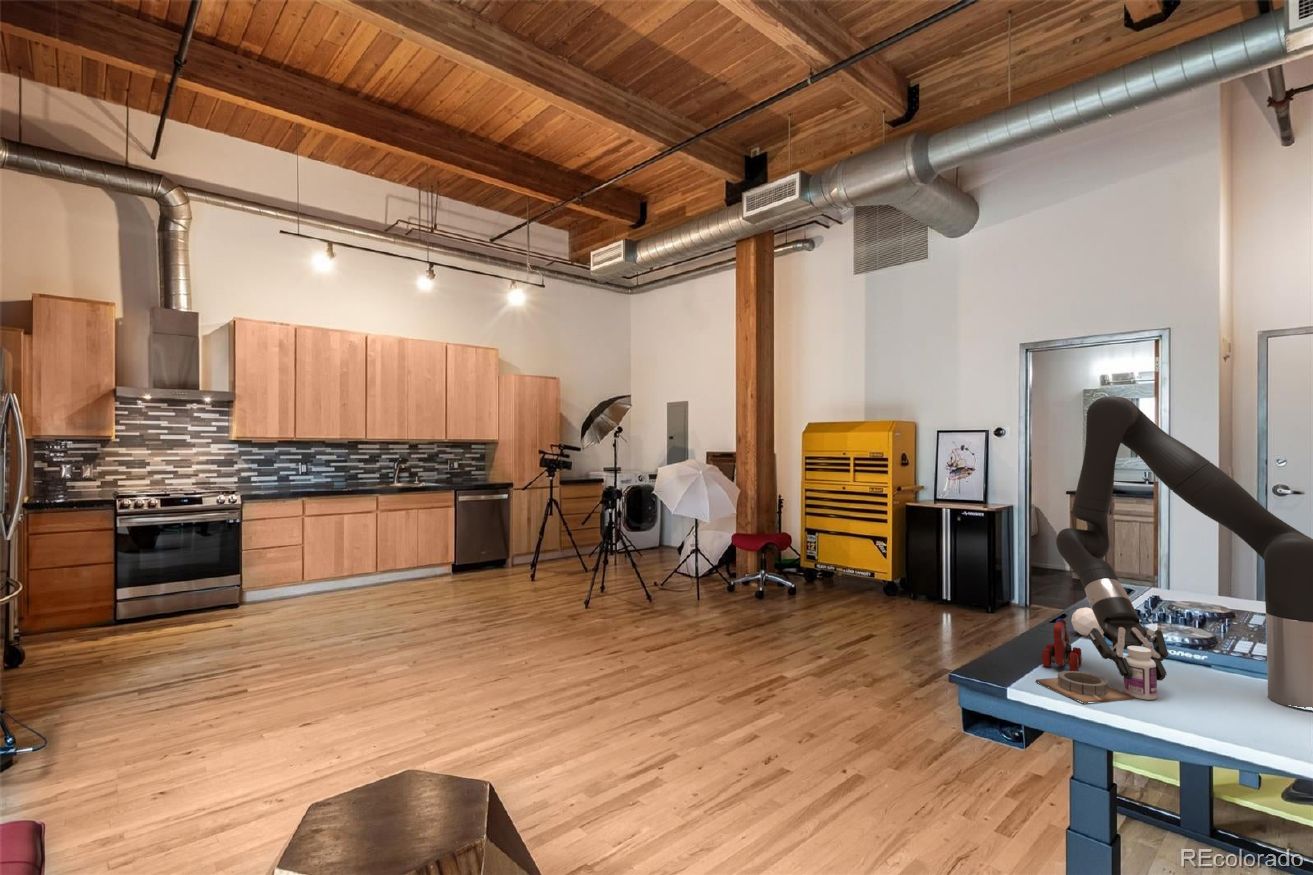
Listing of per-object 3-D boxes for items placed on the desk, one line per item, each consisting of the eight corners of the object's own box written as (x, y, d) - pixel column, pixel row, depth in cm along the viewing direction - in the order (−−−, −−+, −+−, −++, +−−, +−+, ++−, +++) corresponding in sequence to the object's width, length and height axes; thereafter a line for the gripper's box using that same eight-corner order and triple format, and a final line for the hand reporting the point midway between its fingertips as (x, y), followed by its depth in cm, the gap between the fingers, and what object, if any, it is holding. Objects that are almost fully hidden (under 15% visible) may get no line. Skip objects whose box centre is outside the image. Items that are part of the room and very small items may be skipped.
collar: (1081, 677, 139) (1081, 666, 139) (1133, 699, 127) (1133, 686, 127) (1035, 682, 136) (1035, 670, 136) (1084, 704, 124) (1083, 691, 124)
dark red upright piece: (1083, 661, 149) (1082, 618, 149) (1076, 676, 140) (1075, 629, 140) (1049, 655, 154) (1048, 613, 154) (1040, 669, 144) (1039, 624, 144)
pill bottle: (1145, 690, 131) (1144, 644, 131) (1163, 700, 126) (1162, 652, 126) (1118, 689, 131) (1117, 644, 132) (1134, 700, 126) (1133, 652, 126)
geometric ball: (1079, 645, 169) (1059, 618, 173) (1103, 633, 171) (1081, 606, 175) (1095, 639, 163) (1073, 611, 167) (1119, 626, 164) (1097, 599, 168)
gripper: (1081, 594, 137) (1114, 668, 125) (1153, 596, 135) (1193, 671, 123) (1069, 612, 142) (1100, 684, 130) (1139, 614, 140) (1176, 687, 128)
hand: (1145, 677), depth 127 cm, fingers closed on pill bottle, 5 cm apart
